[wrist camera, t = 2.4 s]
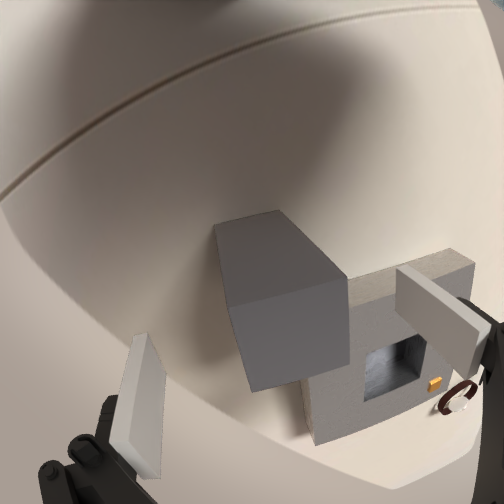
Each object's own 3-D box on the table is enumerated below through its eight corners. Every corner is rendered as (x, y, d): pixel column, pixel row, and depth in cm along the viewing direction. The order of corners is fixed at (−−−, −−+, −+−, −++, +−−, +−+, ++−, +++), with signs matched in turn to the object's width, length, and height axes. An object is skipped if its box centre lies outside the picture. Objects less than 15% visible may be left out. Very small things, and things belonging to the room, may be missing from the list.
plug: (214, 224, 23) (227, 308, 12) (279, 209, 24) (347, 276, 12) (228, 283, 25) (251, 392, 14) (288, 268, 25) (349, 364, 14)
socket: (287, 296, 26) (302, 324, 22) (450, 248, 28) (477, 263, 24) (305, 421, 33) (315, 448, 29) (431, 371, 34) (448, 391, 30)
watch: (434, 411, 39) (444, 425, 36) (436, 396, 37) (448, 411, 34) (468, 387, 39) (480, 400, 36) (472, 371, 38) (485, 384, 34)
